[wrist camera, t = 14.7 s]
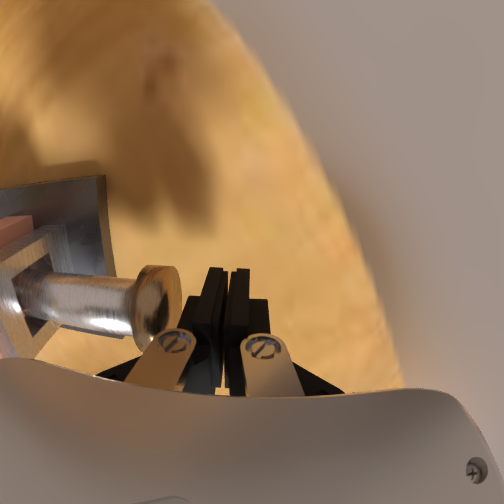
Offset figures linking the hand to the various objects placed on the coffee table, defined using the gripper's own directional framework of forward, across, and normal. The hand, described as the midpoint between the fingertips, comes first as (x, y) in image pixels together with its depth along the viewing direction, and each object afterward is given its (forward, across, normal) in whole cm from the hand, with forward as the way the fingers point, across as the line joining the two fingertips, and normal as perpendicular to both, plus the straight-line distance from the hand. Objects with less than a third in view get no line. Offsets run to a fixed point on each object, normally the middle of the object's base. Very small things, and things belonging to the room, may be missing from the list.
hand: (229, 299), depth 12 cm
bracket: (+3, +13, 0) cm, 14 cm away
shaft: (+1, +7, 0) cm, 7 cm away
